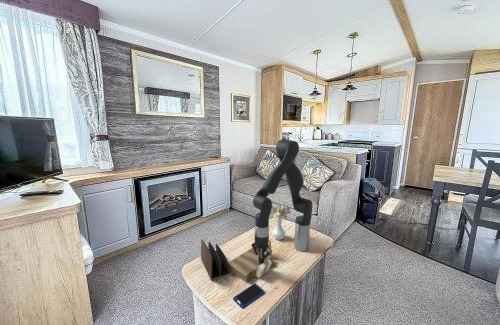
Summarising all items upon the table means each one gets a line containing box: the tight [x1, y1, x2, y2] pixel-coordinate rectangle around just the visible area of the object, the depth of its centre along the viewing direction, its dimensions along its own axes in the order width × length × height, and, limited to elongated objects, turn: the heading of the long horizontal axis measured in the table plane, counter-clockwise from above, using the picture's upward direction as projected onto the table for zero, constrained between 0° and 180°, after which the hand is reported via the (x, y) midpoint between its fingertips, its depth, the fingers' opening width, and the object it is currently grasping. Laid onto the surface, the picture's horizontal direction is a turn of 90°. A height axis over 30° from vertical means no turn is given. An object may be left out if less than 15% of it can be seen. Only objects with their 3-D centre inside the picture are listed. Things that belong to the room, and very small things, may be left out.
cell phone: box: [232, 283, 266, 309], centre depth 94 cm, size 7×14×1 cm, turn 131°
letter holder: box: [200, 239, 230, 282], centre depth 113 cm, size 10×20×14 cm, turn 28°
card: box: [254, 259, 273, 279], centre depth 108 cm, size 9×6×2 cm
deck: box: [228, 247, 273, 283], centre depth 114 cm, size 22×14×4 cm, turn 137°
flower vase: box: [269, 201, 292, 241], centre depth 142 cm, size 13×18×25 cm
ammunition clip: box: [266, 239, 273, 257], centre depth 124 cm, size 11×2×12 cm, turn 51°
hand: (261, 263), depth 109 cm, fingers closed
